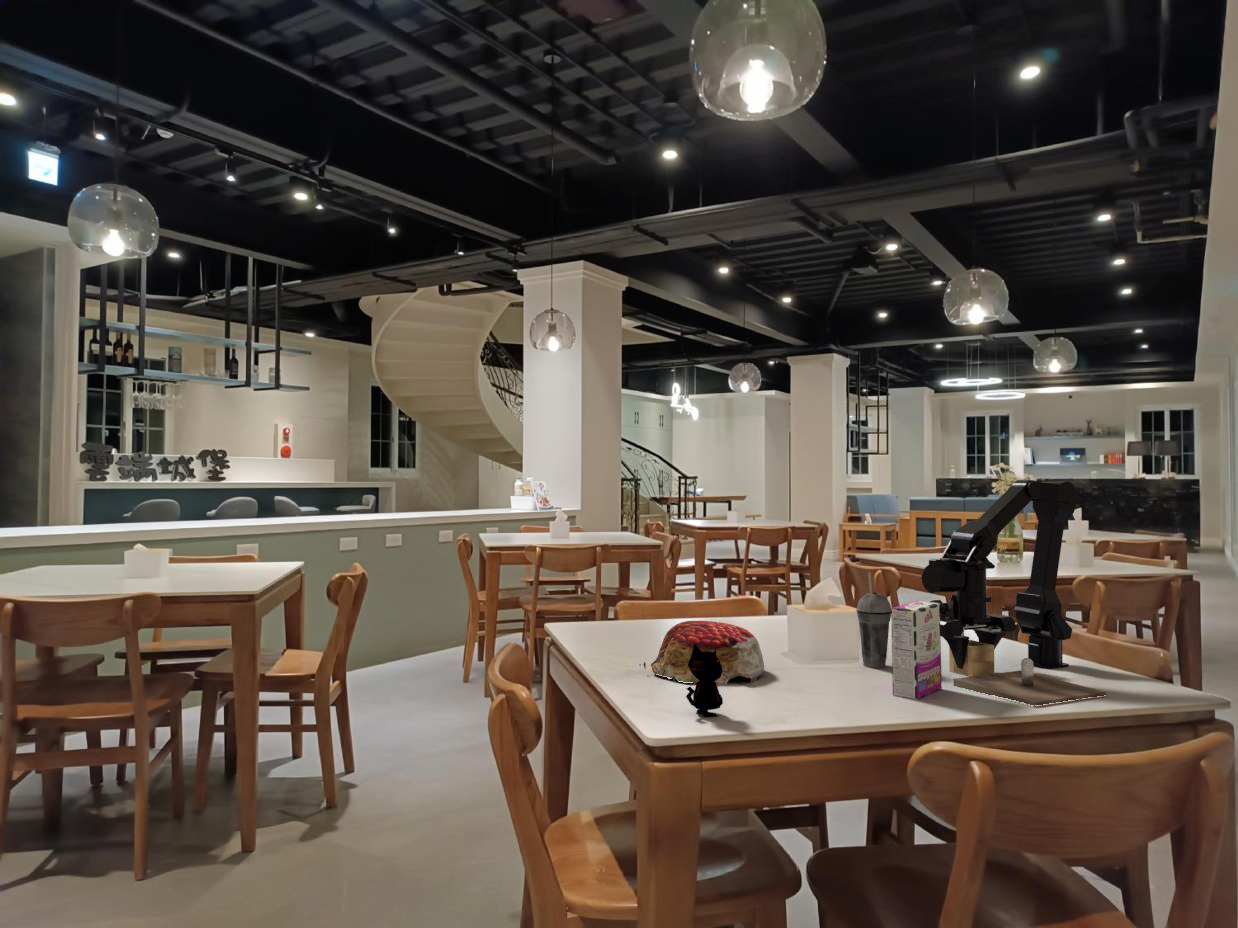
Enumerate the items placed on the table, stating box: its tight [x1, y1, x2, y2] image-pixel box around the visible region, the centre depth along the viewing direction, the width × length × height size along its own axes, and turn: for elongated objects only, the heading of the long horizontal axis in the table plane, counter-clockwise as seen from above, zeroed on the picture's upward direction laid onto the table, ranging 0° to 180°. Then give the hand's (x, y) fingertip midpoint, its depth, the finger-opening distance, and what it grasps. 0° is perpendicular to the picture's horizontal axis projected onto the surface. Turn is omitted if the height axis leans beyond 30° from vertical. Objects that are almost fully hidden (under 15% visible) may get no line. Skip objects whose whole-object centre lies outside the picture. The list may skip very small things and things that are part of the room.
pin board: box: [953, 657, 1108, 706], centre depth 151 cm, size 18×18×6 cm
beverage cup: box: [856, 571, 892, 669], centre depth 173 cm, size 7×7×20 cm
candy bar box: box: [890, 600, 943, 701], centre depth 151 cm, size 11×5×16 cm, turn 136°
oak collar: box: [948, 639, 996, 677], centre depth 167 cm, size 6×6×6 cm
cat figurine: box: [685, 644, 730, 718], centre depth 135 cm, size 7×7×12 cm
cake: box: [639, 620, 765, 685], centre depth 168 cm, size 23×24×10 cm
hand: (971, 666), depth 167 cm, fingers closed on oak collar, 6 cm apart
